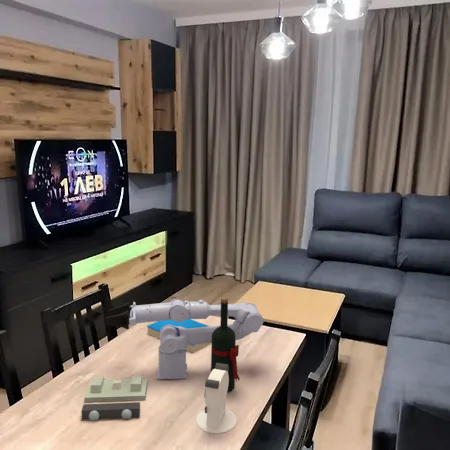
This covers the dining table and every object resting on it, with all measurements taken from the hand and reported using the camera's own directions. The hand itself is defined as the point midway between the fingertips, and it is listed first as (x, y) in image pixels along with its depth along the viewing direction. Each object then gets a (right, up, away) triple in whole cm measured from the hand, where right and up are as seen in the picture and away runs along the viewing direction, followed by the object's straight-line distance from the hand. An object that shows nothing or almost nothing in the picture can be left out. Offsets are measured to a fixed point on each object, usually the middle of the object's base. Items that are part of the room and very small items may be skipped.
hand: (106, 317), depth 143 cm
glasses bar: (+5, -25, -15) cm, 30 cm away
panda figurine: (+36, -26, -16) cm, 47 cm away
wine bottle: (+38, -23, 0) cm, 44 cm away
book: (+21, -15, +36) cm, 45 cm away
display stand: (+4, -23, -3) cm, 23 cm away
